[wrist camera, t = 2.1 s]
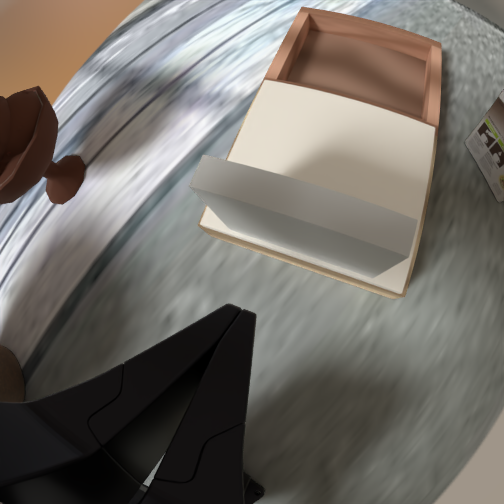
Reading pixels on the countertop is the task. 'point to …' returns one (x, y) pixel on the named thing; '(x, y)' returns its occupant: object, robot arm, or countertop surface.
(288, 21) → the countertop surface
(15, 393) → the plant pot
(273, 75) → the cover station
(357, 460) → the countertop surface
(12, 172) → the ice cream bowl
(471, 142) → the coffee box
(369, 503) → the countertop surface
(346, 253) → the white l-shaped piece
